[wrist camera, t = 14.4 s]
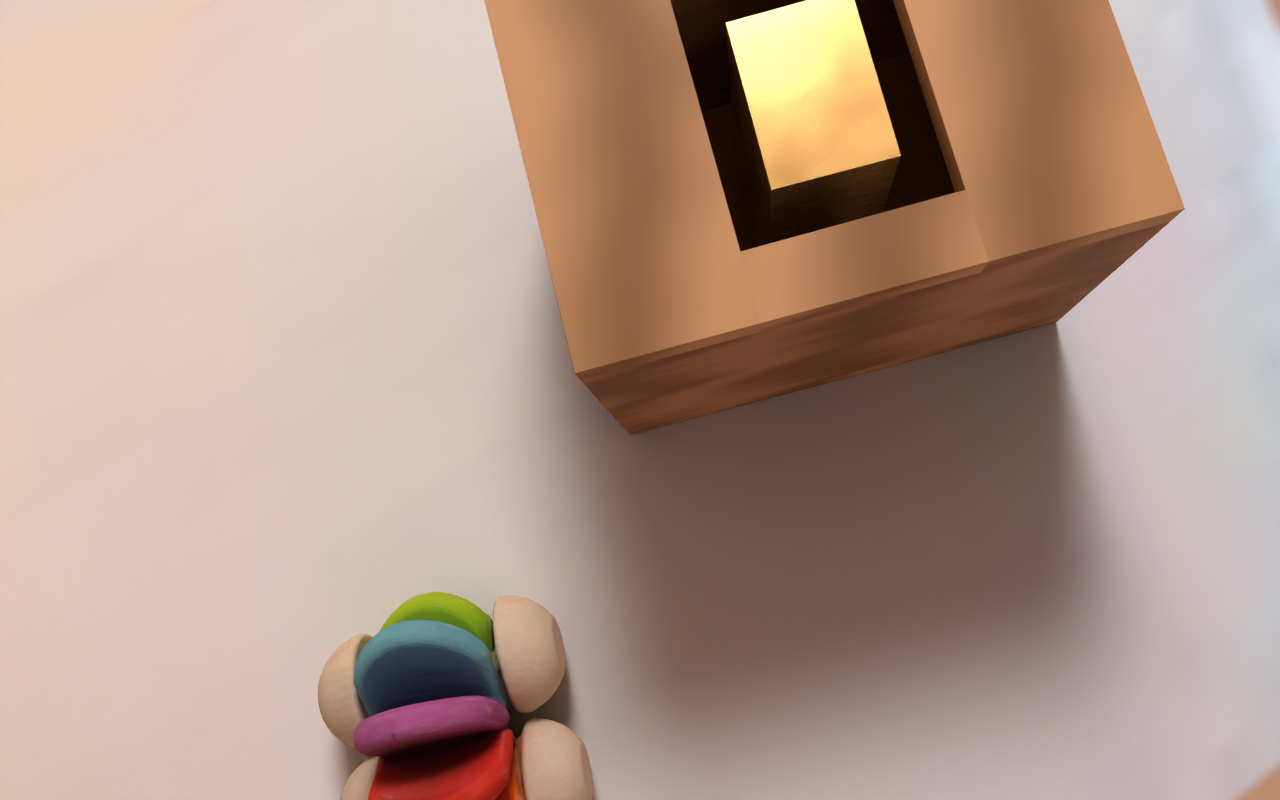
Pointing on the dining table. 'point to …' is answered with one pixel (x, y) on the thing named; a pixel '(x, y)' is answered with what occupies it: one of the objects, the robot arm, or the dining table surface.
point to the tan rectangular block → (807, 120)
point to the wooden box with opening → (835, 256)
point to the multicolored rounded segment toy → (454, 705)
